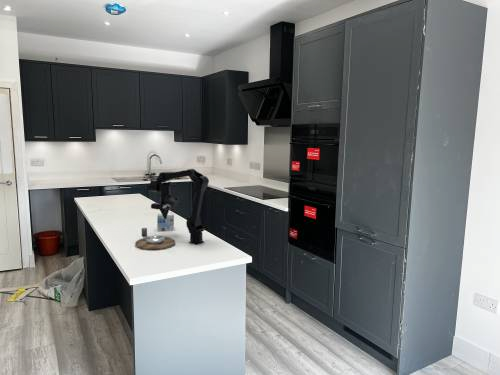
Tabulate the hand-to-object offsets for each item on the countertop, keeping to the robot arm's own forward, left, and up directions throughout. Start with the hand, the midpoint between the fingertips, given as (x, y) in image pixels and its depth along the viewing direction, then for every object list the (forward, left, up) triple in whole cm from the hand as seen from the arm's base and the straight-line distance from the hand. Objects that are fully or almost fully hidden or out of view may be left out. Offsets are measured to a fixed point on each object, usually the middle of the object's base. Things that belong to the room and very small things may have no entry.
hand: (165, 218), depth 229 cm
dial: (-3, +14, -10) cm, 18 cm away
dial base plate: (-5, +14, -12) cm, 19 cm away
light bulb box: (+12, -14, -12) cm, 22 cm away
